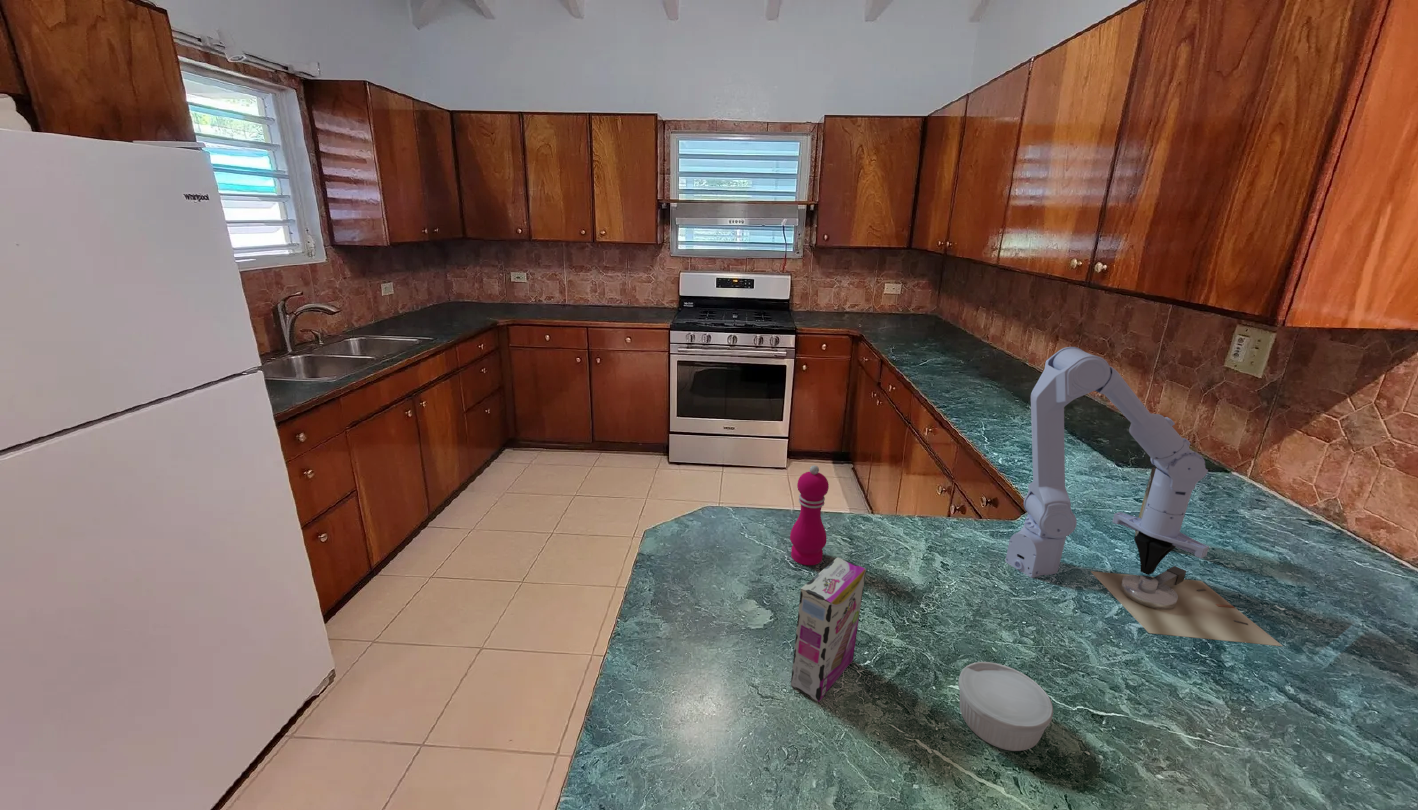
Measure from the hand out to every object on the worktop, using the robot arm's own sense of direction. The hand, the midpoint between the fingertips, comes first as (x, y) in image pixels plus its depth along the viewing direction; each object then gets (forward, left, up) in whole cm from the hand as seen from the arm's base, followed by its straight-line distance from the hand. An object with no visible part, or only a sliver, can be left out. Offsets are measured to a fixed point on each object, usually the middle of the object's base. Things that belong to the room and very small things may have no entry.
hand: (1146, 572), depth 106 cm
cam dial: (-3, -4, -1) cm, 5 cm away
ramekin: (-55, -13, -3) cm, 56 cm away
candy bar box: (-72, +3, -3) cm, 72 cm away
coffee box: (+18, +9, -3) cm, 20 cm away
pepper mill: (-57, +31, -3) cm, 65 cm away
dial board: (-4, -7, -2) cm, 9 cm away
